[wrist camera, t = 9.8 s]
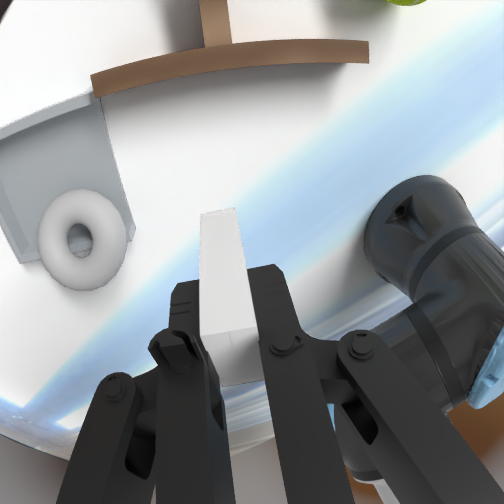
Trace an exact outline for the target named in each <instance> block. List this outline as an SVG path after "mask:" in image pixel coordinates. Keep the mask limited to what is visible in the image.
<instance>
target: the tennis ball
mask: <svg viewBox="0 0 504 504" xmlns="http://www.w3.org/2000/svg"><path fill="white" fill-rule="evenodd" d="M386 1H388V2H390V3H393V4H397V5H402V6H412V5H417V4H420V3H423V2H425V1H426V0H386Z"/></svg>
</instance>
